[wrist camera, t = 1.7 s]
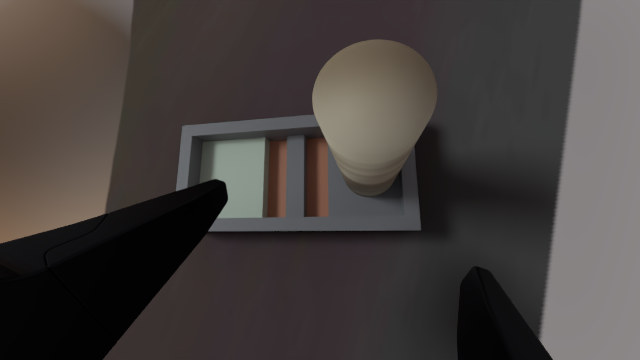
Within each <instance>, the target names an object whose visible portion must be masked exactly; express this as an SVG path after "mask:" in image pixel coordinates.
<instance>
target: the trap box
mask: <svg viewBox="0 0 640 360" xmlns="http://www.w3.org/2000/svg"><path fill="white" fill-rule="evenodd" d="M213 179H218V180H221V181H224V182H225V183H226V187H227V193H228V201H227V204H226V205H225V207H224V208H223V210H222V211H221V213H220V214H219V216H218V217H217V219H216V220H215V222H214V223H213V225H212V226H211V228H210V229H209V231H386V230H421V224H420V211H419V198H418V186H417V173H416V160H415V148H414V147H413V149H412V151H411V153H410V154H409V156H408V158H407V160H406V161H405V163H404V165H403V166H402V168H401V170H400V172H399V173H398V175H397V177H396V178H395V180H394V182H393V184H392V185H391V187H390V188H389V189H388V190H387V191H386V192H385V193H383V194H381V195H379V196H376V197H363V196H360V195H357V194H356V193H354V192H353V191H351V189H350V188H349V187H348V186H347V184H346V182H345V180H344V178H343V176H342V174H341V171H340V169H339V167H338V165H337V163H336V161H335V158H334V156H333V154H332V152H331V150H330V148H329V145H328V143H327V141H326V139H325V137H324V135H323V132H322V130H321V128H320V126H319V124H318V122H317V119H316V117H315V115H304V116H292V117H281V118H269V119H257V120H246V121H234V122H222V123H210V124H199V125H187V126H183V128H182V137H181V147H180V157H179V167H178V177H177V187H176V191H178V190H182V189H185V188H188V187H191V186H194V185H197V184H200V183H203V182H206V181H209V180H213Z"/></svg>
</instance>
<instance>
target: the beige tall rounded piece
mask: <svg viewBox="0 0 640 360" xmlns="http://www.w3.org/2000/svg"><path fill="white" fill-rule="evenodd" d="M436 100H437V85H436V80H435V77H434V74H433V72H432V70H431V68H430V66H429V65H428V63H427V62H426V60H425V59H424V58H423V57H422V56H421V55H420V54H418V53H417V52H416V51H415V50H413V49H411V48H410V47H408V46H406V45H403V44H401V43H398V42H394V41H389V40H368V41H362V42H359V43H356V44H353V45H351V46H348V47H346V48H345V49H343V50H341V51H340V52H338V53H337V54H335V55H334V56H333V57H332V58H331V59H330V60H329V61H328V62H327V63H326V64H325V65H324V67H323V68H322V70H321V71H320V73H319V75H318V77H317V79H316V82H315V85H314V89H313V98H312V101H313V109H314V114H315V117H316V119H317V122H318V124H319V126H320V128H321V130H322V132H323V135H324V137H325V139H326V141H327V143H328V145H329V148H330V150H331V152H332V154H333V156H334V158H335V161H336V163H337V165H338V167H339V169H340V171H341V174H342V176H343V178H344V180H345V182H346V184H347V186H348V187H349V188H350V189H351V191H353V192H354V193H356V194H357V195H360V196H363V197H376V196H379V195H381V194H383V193H385V192H386V191H387V190H388V189H389V188H390V187H391V185H392V184H393V182H394V180H395V178H396V177H397V175H398V173H399V172H400V170H401V168H402V166H403V165H404V163H405V161H406V160H407V158H408V156H409V154H410V153H411V151H412V149H413V147H414V146H415V144H416V142H417V141H418V139H419V137H420V135H421V134H422V132H423V130H424V129H425V127H426V125H427V123H428V122H429V120H430V118H431V116H432V114H433V112H434V109H435V105H436Z"/></svg>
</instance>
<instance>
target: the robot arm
mask: <svg viewBox="0 0 640 360" xmlns="http://www.w3.org/2000/svg"><path fill="white" fill-rule="evenodd" d="M227 201H228V193H227V187H226V183H225V182H224V181H221V180H218V179H213V180H209V181H206V182H203V183H200V184H197V185H194V186H191V187H188V188H185V189H182V190H178V191H175V192H172V193H169V194H166V195H163V196H160V197H157V198H154V199H150V200H147V201H144V202H141V203H138V204H135V205H132V206H129V207H126V208H122V209H119V210H116V211H113V212H110V213H109V214H108V213H107V214H104V215H101V216H98V217H94V218H91V219H88V220H85V221H81V222H78V223H75V224H72V225H68V226H64V227H60V228H57V229H54V230H50V231H46V232H42V233H38V234H35V235H31V236H27V237H24V238H20V239H16V240H12V241H8V242H5V243H1V244H0V360H103V358H104V357H105V356H106V355H107V354H108V352H109V351H110V350H111V349H112V348H113V346H114V345H115V344H116V343H117V341H118V340H119V339H120V338H121V336H122V335H123V334H124V333H125V332H126V330H127V329H128V328H129V327H130V326H131V324H132V323H133V322H134V321H135V320H136V318H137V317H138V316H139V315H140V314H141V312H142V311H143V310H144V309H145V307H146V306H147V305H148V304H149V303H150V301H151V300H152V299H153V298H154V297H155V295H156V294H157V293H158V292H159V291H160V289H161V288H162V287H163V286H164V284H165V283H166V282H167V281H168V280H169V278H170V277H171V276H172V275H173V274H174V272H175V271H176V270H177V269H178V268H179V266H180V265H181V264H182V263H183V262H184V260H185V259H186V258H187V257H188V255H189V254H190V253H191V252H192V251H193V249H194V248H195V247H196V246H197V245H198V243H199V242H200V241H201V240H202V239H203V237H204V236H205V235H206V233H207V232H208V231H209V229H210V228H211V226H212V225H213V223H214V222H215V220H216V219H217V217H218V216H219V214H220V213H221V211H222V210H223V208H224V207H225V205H226V204H227ZM457 350H458V360H553V359H552V358H551V356H550V355H549V353H548V352H547V351H546V349H545V348H544V346H543V345H542V344H541V342H540V341H539V339H538V338H537V337H536V335H535V334H534V332H533V331H532V330H531V328H530V327H529V325H528V324H527V323H526V321H525V320H524V318H523V317H522V315H521V314H520V313H519V311H518V310H517V308H516V307H515V306H514V304H513V303H512V301H511V300H510V299H509V297H508V296H507V294H506V293H505V292H504V290H503V289H502V287H501V286H500V285H499V283H498V282H497V280H496V279H495V277H494V276H493V275H492V273H491V272H490V271H488V270H486V269H483V268H480V267H477V266H474V267H473V268H472V269H471V270H470V271H469V272H468V274H467V275H466V276H465V278H464V279H463V280H462V282H461V286H460V298H459V311H458V325H457Z"/></svg>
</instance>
